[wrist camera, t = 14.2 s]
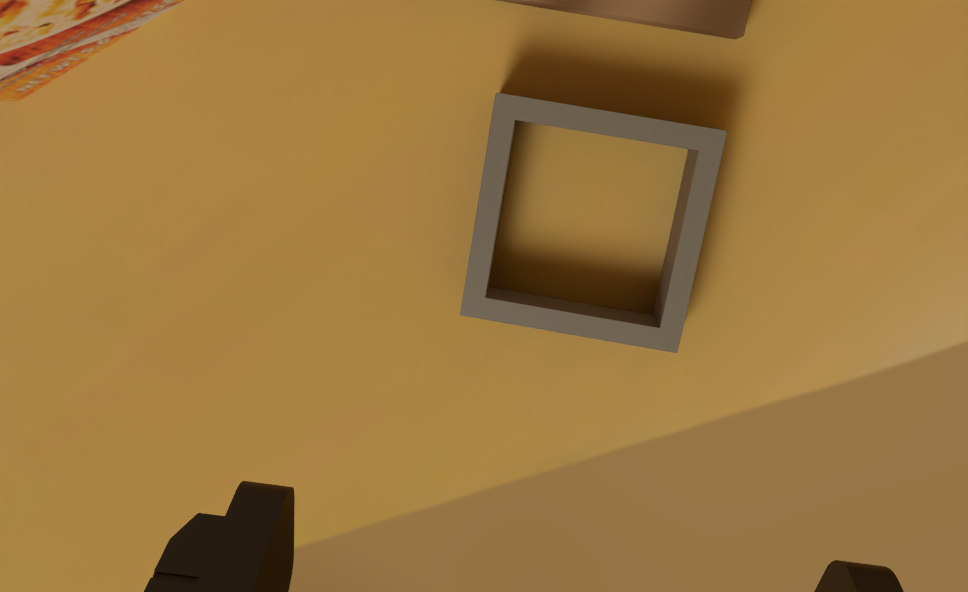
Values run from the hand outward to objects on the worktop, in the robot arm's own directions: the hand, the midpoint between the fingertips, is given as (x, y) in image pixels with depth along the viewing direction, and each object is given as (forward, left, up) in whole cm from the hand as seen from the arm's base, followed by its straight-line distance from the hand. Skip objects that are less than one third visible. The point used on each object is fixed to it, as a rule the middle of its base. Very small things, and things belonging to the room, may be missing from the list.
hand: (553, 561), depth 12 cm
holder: (+2, +2, -27) cm, 28 cm away
